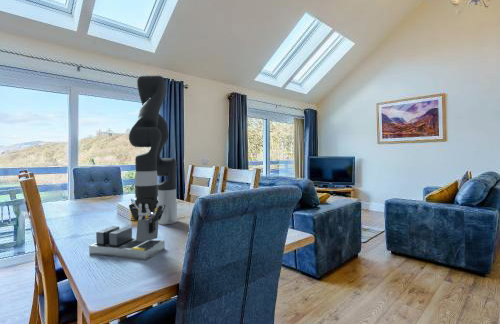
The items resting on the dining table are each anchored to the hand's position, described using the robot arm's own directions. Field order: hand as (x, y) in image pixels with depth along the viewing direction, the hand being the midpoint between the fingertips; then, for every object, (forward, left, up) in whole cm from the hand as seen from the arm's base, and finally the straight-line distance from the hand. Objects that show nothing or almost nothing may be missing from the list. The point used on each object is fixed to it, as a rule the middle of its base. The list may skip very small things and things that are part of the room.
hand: (147, 232), depth 97 cm
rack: (0, -8, -8) cm, 11 cm away
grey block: (0, 0, -3) cm, 3 cm away
